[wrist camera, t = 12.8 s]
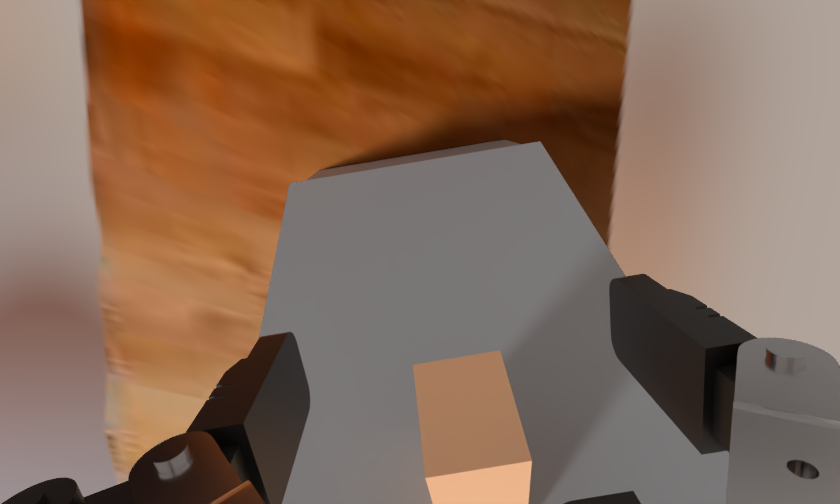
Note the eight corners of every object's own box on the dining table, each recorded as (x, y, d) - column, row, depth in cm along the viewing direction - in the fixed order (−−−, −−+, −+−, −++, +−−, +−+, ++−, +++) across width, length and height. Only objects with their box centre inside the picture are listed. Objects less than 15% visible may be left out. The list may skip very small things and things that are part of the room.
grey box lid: (292, 191, 29) (264, 116, 26) (539, 149, 29) (544, 69, 26) (215, 609, 13) (114, 558, 10) (766, 520, 13) (857, 437, 10)
